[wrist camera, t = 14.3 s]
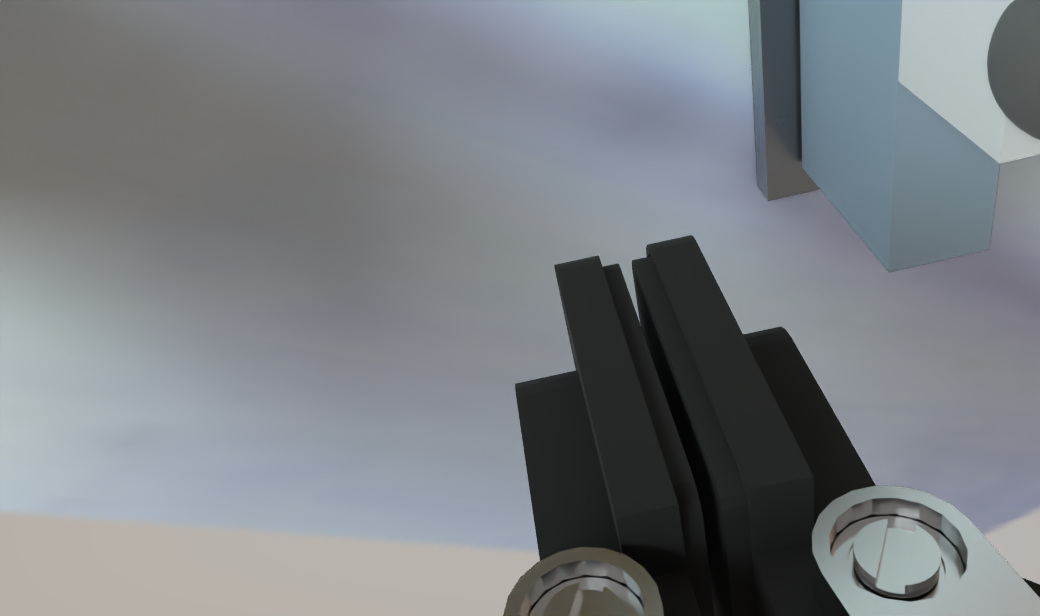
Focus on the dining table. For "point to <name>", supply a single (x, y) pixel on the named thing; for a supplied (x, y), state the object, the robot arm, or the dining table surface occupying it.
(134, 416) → the dining table surface
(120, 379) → the dining table surface
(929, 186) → the slide jaw
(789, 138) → the vise
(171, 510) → the dining table surface
